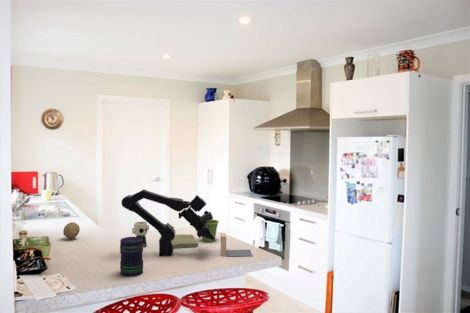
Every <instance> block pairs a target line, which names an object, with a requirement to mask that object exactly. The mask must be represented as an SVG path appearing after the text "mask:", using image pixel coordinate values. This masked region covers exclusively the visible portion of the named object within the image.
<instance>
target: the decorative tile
mask: <svg viewBox="0 0 470 313" xmlns="http://www.w3.org/2000/svg"><path fill="white" fill-rule="evenodd" d="M171 242H172V245H173V250H181V249H182V248H183V249H193V248H194V249H196V248H197V247H198V248H199V242H198V240H197V238H196V237H195V236H194V235H193V234H187V233H186V234H175V237H174V239H173V240H172V241H171ZM198 248H197V249H198Z"/></svg>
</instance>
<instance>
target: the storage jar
mask: <svg viewBox="0 0 470 313" xmlns="http://www.w3.org/2000/svg"><path fill="white" fill-rule="evenodd" d="M119 242H120V244H119V245H120V246H119V253H120V263H119V270H120V275H121V277H126V278H133V277H138V276H141V275H142V274H143V273H144V260H143V252H144V246H143V238H141V237H136V236H127V237H123V238H121V239H120V240H119Z"/></svg>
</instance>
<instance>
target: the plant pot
mask: <svg viewBox="0 0 470 313" xmlns="http://www.w3.org/2000/svg"><path fill="white" fill-rule="evenodd" d="M219 222H220V221H219V220H217V219H212V220H209V221H208V223H206V224H205V225H206V226H207V225H208V224H209V230H210V232H211V233H212V235H213V236H214V238H215V239H214V240H212V239H209V238H206V237H203V236H201V240H202V242H206V243H212V242H214V241H216V235H217V234H216V233H217V228H218V224H219Z"/></svg>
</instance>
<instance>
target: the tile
mask: <svg viewBox="0 0 470 313" xmlns="http://www.w3.org/2000/svg"><path fill="white" fill-rule="evenodd" d="M226 250H227V234H226V232H221V233H220V256H221V257H227V255H226Z"/></svg>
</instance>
